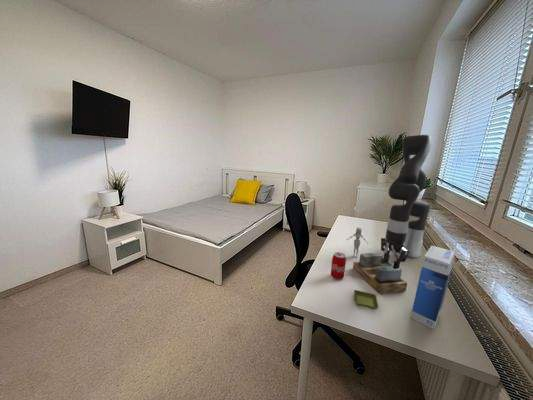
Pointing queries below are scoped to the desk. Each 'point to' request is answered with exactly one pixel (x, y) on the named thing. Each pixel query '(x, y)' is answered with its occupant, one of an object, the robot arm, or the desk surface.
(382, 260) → the digital multimeter
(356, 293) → the saucer
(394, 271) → the rectangular block
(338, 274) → the beverage can
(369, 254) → the rack
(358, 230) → the human figurine
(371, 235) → the desk surface
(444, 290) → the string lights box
